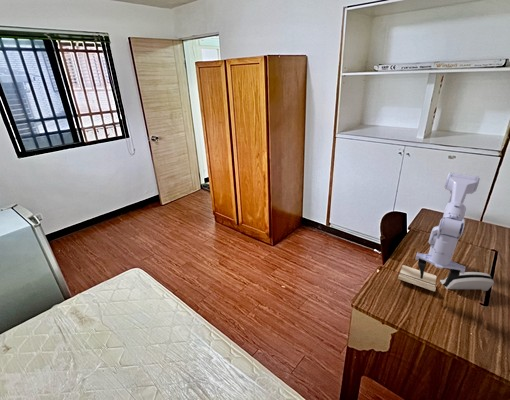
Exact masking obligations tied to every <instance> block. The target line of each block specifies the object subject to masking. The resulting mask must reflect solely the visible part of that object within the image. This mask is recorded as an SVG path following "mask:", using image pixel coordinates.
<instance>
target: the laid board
mask: <svg viewBox="0 0 510 400" xmlns="http://www.w3.org/2000/svg"><path fill="white" fill-rule="evenodd" d="M399 274H402V275H405V276H408V277H411V278H414V279H417V280H420V281H423V282H426V283H429V284H432V285H435V286H436V282H437V275H435V274H432V273H429V272H426V271H424V274H423V278H422V279H421V278H420V276H421V274H420V269H416V268H414V267H410V266H407V265H404V264H402V265H401V267H400V270H399Z"/></svg>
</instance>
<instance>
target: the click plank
mask: <svg viewBox="0 0 510 400" xmlns="http://www.w3.org/2000/svg"><path fill="white" fill-rule="evenodd" d="M397 279H398V280H400V281H404V282H406V283H409V284H413V285H414V286H418V287H421V288H424V289H426V290H429V291H432V292H436V289H437V288H436V284H435V285H432V284H429V283H426V282H423V281H420V280H417V279H414V278H411V277H408V276H405V275H402V274H400V273H399V274H398V276H397Z"/></svg>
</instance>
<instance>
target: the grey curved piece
mask: <svg viewBox="0 0 510 400" xmlns="http://www.w3.org/2000/svg"><path fill="white" fill-rule="evenodd" d="M446 279H447V277H445V278H444V279H439V282H440V283H441V285H442V286H444V288H445V289H446V290H481V291H482V292H486V291H487V292H488V291H489V290H490V288H492V287H493V285H494V284H495V282H494V279H493V278H492V276H491V275H490V274H489V273H486V272H480V271H479V272H478V271H465V272H464V274H462V273H460V275H459V277H458V278H456V279H454V280H453V281H451V282H450V283H449V285H448V286H447V287H445V282H446Z"/></svg>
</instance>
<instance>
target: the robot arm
mask: <svg viewBox="0 0 510 400" xmlns="http://www.w3.org/2000/svg"><path fill="white" fill-rule="evenodd" d="M480 180H481V179H480V177H479V175H470V174H469V175H468V174H463V173H456V172H451V171H450V172H448V174H447V178H446V179H445V184H444V188H445V190H447V191H449V194H450V195H449V198H448V203H447V204H446V205H445V208H444V212H443V215H442V218H441V219H440V221H439V225H436V226H434V227H433V228H432V230H431V231H430V235H429V239H428V244H429V245H430V248H429V251H428V253H421V252H416V255H415V261H416V260H417V264H418V268H419V270H420V274H421V276H420V278H421V279H422V278H423V274H424V272H425V269H426V266H427V263H429V264H431V265H433V266H435V268H437V269H440V270H442V269H449V271H448V275H447V277H446V278H447V279H446V278H445V279H446V282H445V285H444V288H445V287H447V286H448V285H449V283H450V282H451V281H453V280H454V279H456V278H458V277H459V275H460V273H462V274H464V272H466V266H465V265H462V264H459V263H458V262H455V261H453V260H452V258H453V256H454V253H455V250H456V247H457V245H458V241H459V239H461V237H462V235H463V233H464V230H465V224H466V223H465V222H466V221H465V220H466V219H465V215H466V210H467V208H466V206H465V204H464V201H465V199H466V196H467V195H469V194H470V195H472V194H474V193H475V192H476V191H477V189H478V187H479V183H480Z"/></svg>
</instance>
